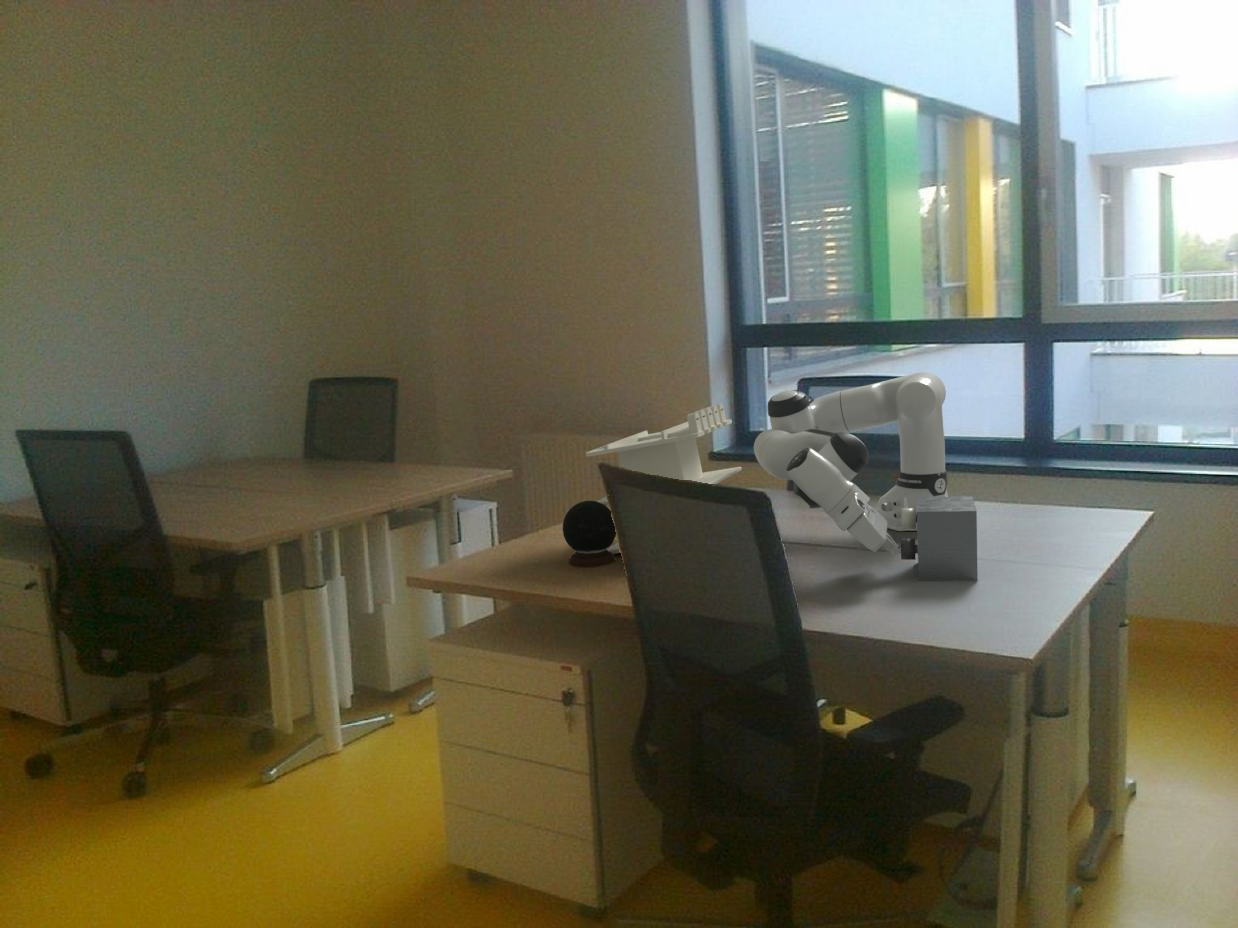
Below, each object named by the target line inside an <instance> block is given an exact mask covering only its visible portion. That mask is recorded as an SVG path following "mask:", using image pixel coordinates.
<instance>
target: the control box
mask: <svg viewBox="0 0 1238 928" xmlns="http://www.w3.org/2000/svg"><path fill="white" fill-rule="evenodd" d="M977 511H978V510H977V507H976V504H975V500H974V496H971V495H970V496H966V495H965V496H948V497H917V531H916V534H917V535H916V536H917V545H918V553H917V567H918V568H917V573H918V575H917V576H918V577H917V579H918V581H919V582H978V529H977V527H978V524H977V523H978V519H977Z"/></svg>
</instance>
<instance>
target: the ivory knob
mask: <svg viewBox="0 0 1238 928" xmlns="http://www.w3.org/2000/svg"><path fill="white" fill-rule="evenodd" d="M916 523H917V514H916V508H902V529H916Z"/></svg>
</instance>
